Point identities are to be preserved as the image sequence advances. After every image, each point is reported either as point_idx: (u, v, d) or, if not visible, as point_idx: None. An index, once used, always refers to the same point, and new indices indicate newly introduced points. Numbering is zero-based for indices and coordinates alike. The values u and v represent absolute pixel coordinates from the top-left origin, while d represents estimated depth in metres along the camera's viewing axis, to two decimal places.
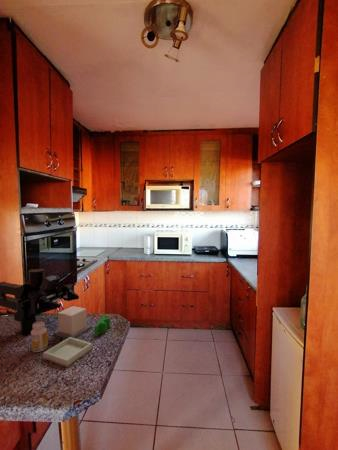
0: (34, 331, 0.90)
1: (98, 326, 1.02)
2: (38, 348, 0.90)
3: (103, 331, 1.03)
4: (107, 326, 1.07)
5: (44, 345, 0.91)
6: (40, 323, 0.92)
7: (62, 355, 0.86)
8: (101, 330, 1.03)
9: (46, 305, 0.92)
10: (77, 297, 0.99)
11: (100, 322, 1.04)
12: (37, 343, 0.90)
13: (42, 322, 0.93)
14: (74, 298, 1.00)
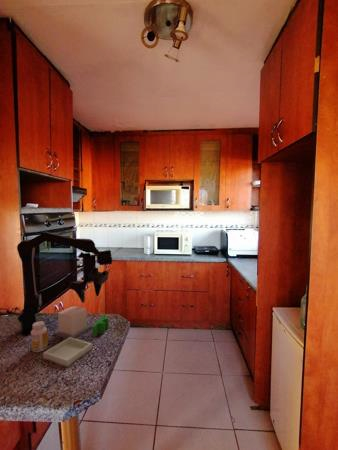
0: (34, 331, 0.90)
1: (96, 326, 1.02)
2: (38, 348, 0.90)
3: (101, 331, 1.03)
4: (105, 326, 1.07)
5: (44, 345, 0.91)
6: (40, 323, 0.92)
7: (62, 355, 0.86)
8: (99, 330, 1.03)
9: (80, 290, 1.09)
10: (97, 295, 1.19)
11: (98, 322, 1.04)
12: (37, 343, 0.90)
13: (42, 322, 0.93)
14: (95, 291, 1.19)
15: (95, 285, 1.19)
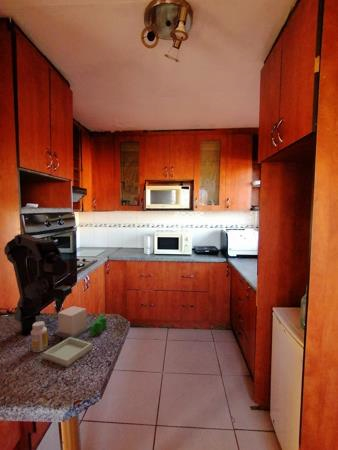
0: (34, 331, 0.90)
1: (94, 326, 1.02)
2: (38, 348, 0.90)
3: (99, 331, 1.03)
4: (103, 326, 1.07)
5: (44, 345, 0.91)
6: (40, 323, 0.92)
7: (62, 355, 0.86)
8: (97, 330, 1.03)
9: None
10: None
11: (96, 322, 1.04)
12: (37, 343, 0.90)
13: (42, 322, 0.93)
14: None
15: None
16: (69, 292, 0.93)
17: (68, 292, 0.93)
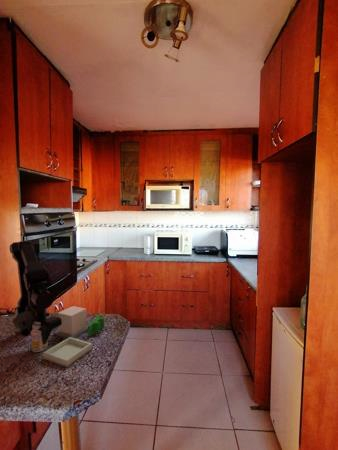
0: (34, 331, 0.90)
1: (92, 326, 1.02)
2: (38, 348, 0.90)
3: (97, 331, 1.03)
4: (101, 326, 1.07)
5: (44, 345, 0.91)
6: (40, 323, 0.92)
7: (62, 355, 0.86)
8: (95, 330, 1.03)
9: None
10: None
11: (94, 322, 1.04)
12: (37, 343, 0.90)
13: None
14: None
15: None
16: (58, 324, 0.89)
17: (57, 324, 0.88)
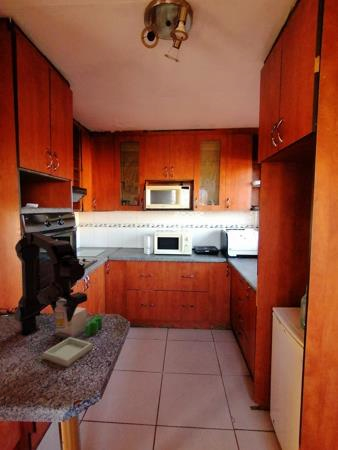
0: (58, 308, 0.86)
1: (89, 326, 1.02)
2: (63, 326, 0.85)
3: (94, 331, 1.03)
4: (99, 326, 1.08)
5: (68, 323, 0.87)
6: (64, 300, 0.88)
7: (62, 355, 0.86)
8: (92, 330, 1.04)
9: None
10: None
11: (91, 322, 1.04)
12: (62, 320, 0.85)
13: None
14: None
15: None
16: (84, 300, 0.85)
17: (83, 300, 0.84)
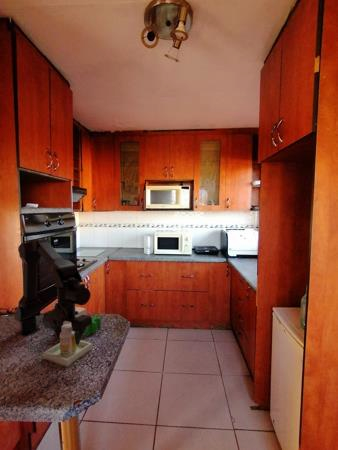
0: (63, 334, 0.86)
1: (88, 326, 1.02)
2: (68, 352, 0.86)
3: (93, 331, 1.04)
4: (98, 326, 1.08)
5: (73, 348, 0.87)
6: (69, 325, 0.88)
7: (62, 355, 0.86)
8: (91, 330, 1.04)
9: None
10: None
11: None
12: (66, 346, 0.86)
13: None
14: None
15: None
16: (89, 323, 0.85)
17: (88, 323, 0.84)
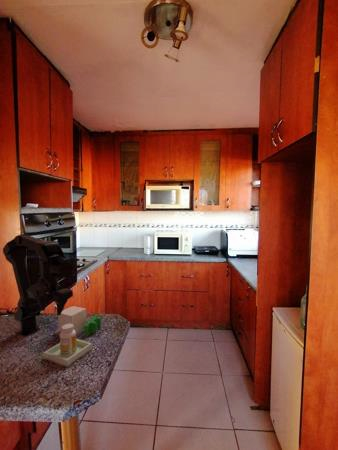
0: (63, 334, 0.86)
1: (88, 326, 1.02)
2: (68, 352, 0.86)
3: (93, 330, 1.04)
4: (98, 326, 1.08)
5: (73, 349, 0.87)
6: (69, 326, 0.88)
7: None
8: (91, 329, 1.04)
9: None
10: None
11: (90, 322, 1.04)
12: (66, 346, 0.86)
13: (71, 325, 0.89)
14: None
15: None
16: (69, 296, 0.93)
17: (68, 296, 0.93)
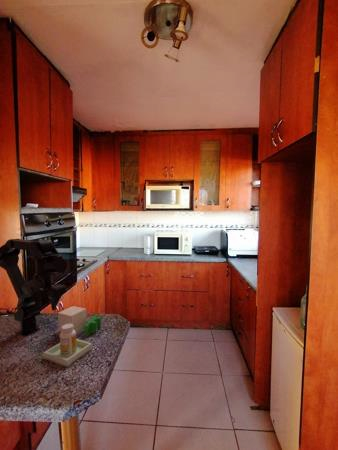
0: (63, 334, 0.86)
1: (88, 326, 1.02)
2: (68, 352, 0.86)
3: (93, 330, 1.04)
4: (98, 325, 1.08)
5: (73, 349, 0.87)
6: (69, 326, 0.88)
7: None
8: (91, 329, 1.04)
9: None
10: None
11: (90, 321, 1.04)
12: (66, 346, 0.86)
13: (71, 325, 0.89)
14: None
15: None
16: (63, 291, 0.97)
17: (62, 291, 0.96)
